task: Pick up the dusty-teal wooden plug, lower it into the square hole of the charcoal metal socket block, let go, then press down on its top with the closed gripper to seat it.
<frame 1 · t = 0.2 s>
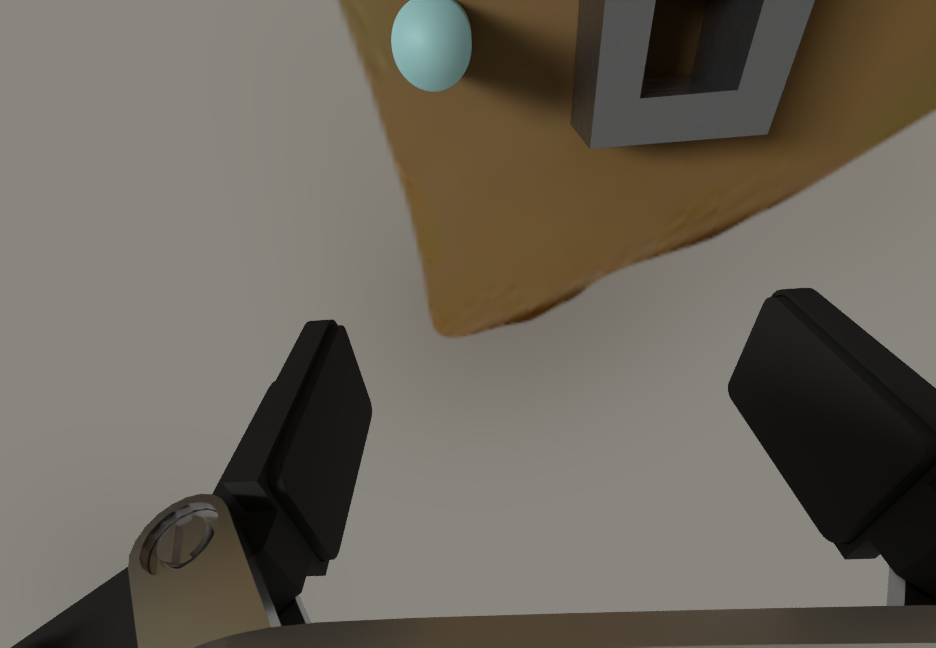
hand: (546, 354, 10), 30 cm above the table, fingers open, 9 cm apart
plug: (441, 33, 30), on the table
socket: (659, 29, 30), on the table
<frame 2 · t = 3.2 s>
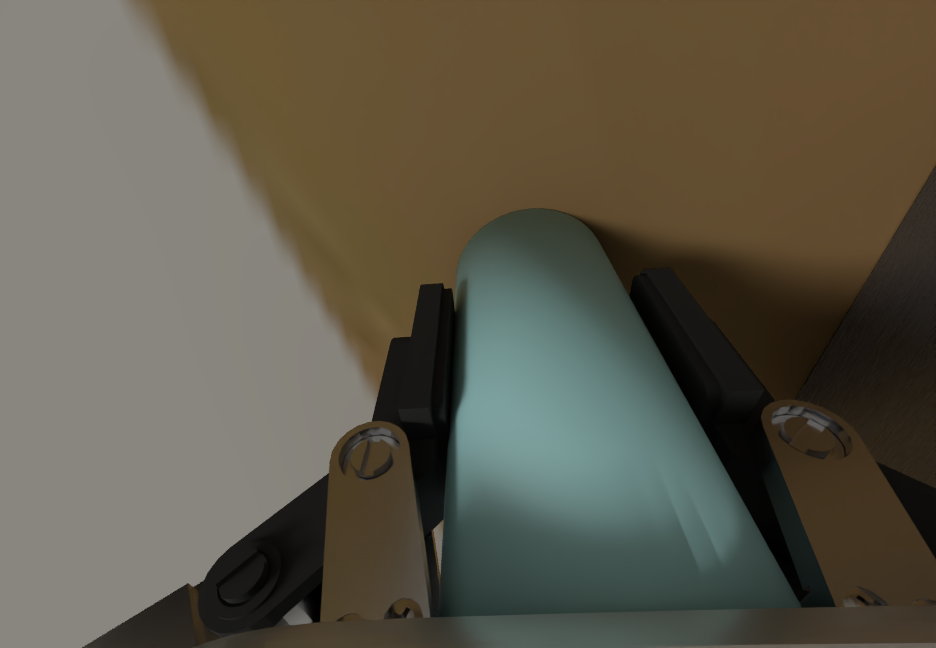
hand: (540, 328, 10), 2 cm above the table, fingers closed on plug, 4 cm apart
plug: (529, 279, 12), on the table, touching gripper
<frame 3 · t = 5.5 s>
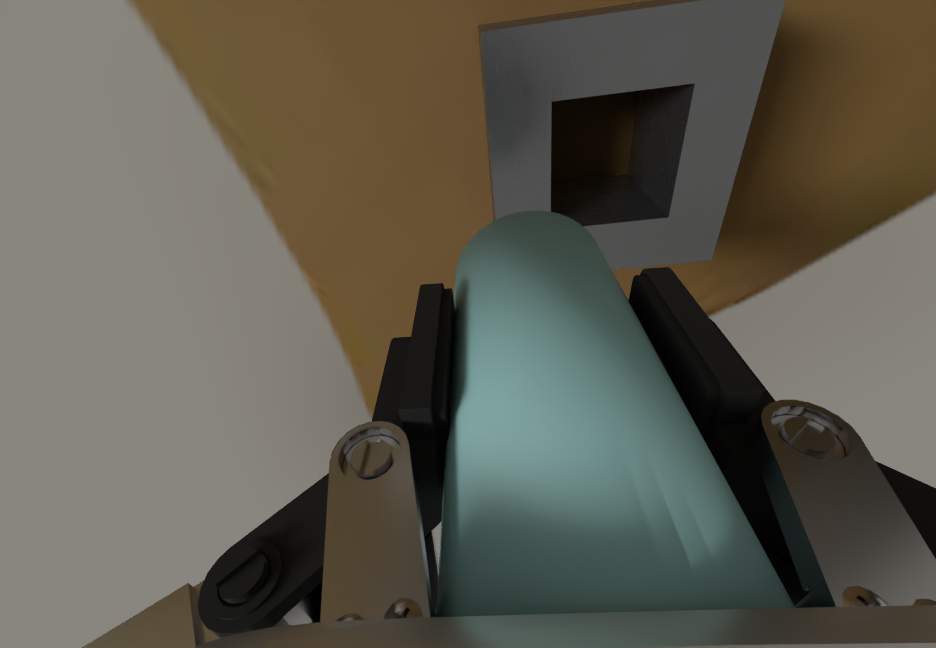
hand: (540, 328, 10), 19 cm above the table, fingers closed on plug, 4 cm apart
plug: (528, 280, 12), point 17 cm above the table, touching gripper
socket: (583, 130, 25), on the table
when the fingers open (8 cm above the table, at t = 8.3 s): plug drops 6 cm, resting in socket.
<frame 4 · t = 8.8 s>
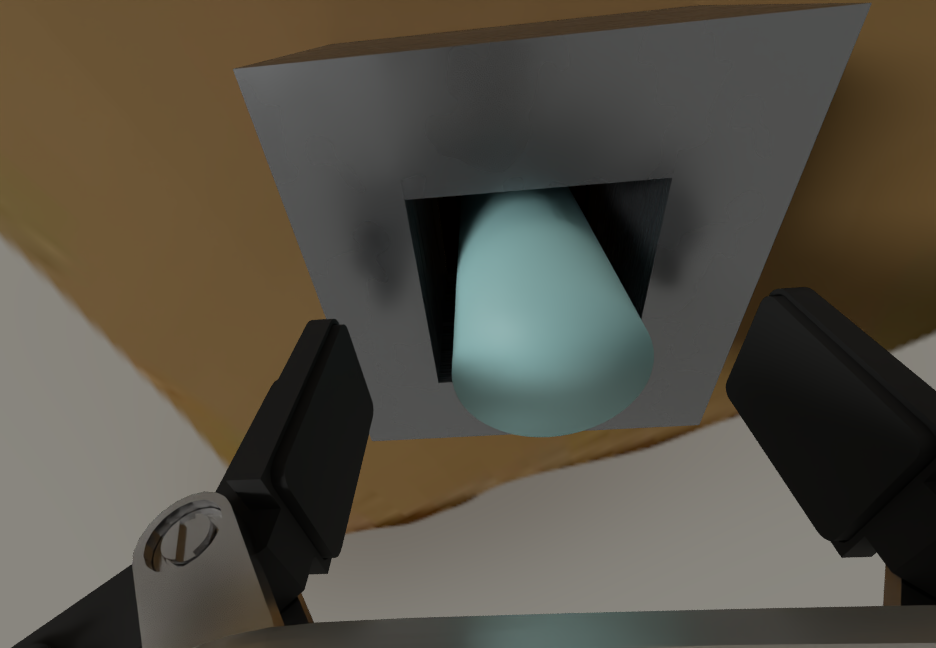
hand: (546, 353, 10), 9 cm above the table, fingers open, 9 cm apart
plug: (513, 204, 17), resting in socket
socket: (513, 203, 17), on the table
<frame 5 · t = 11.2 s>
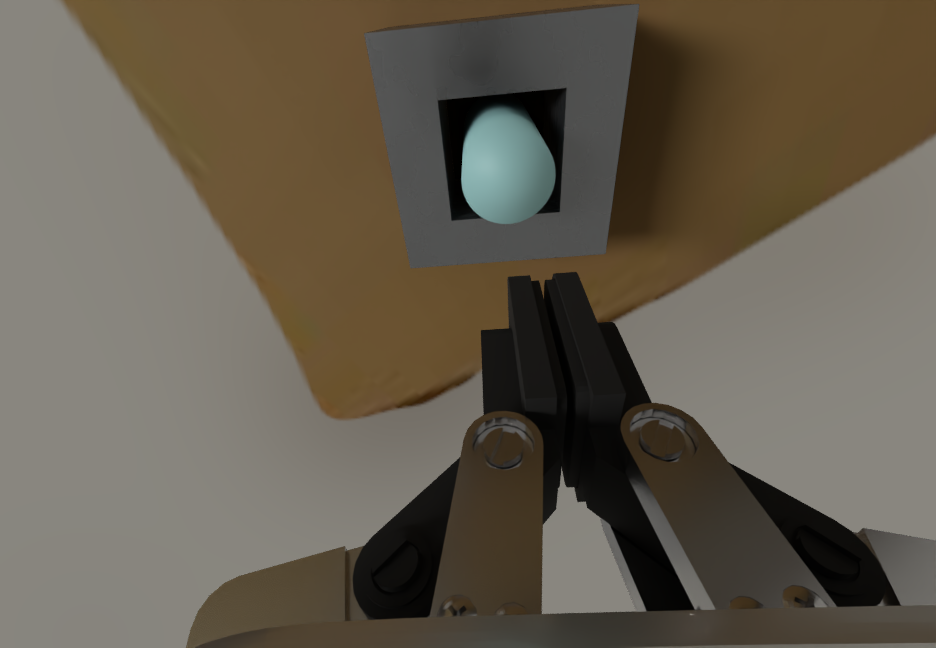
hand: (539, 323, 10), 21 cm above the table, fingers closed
plug: (496, 129, 27), resting in socket
socket: (496, 129, 27), on the table
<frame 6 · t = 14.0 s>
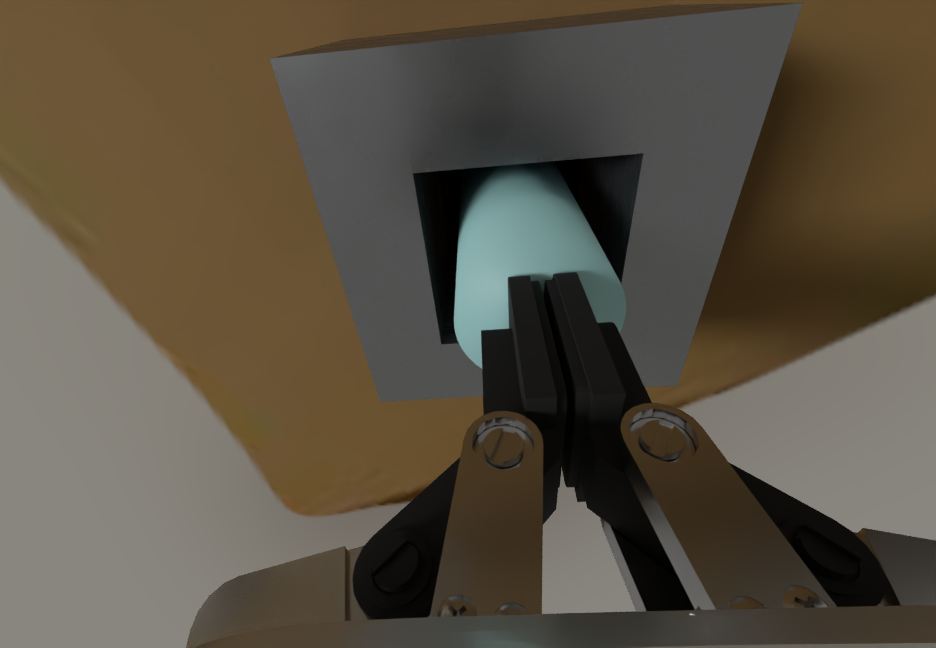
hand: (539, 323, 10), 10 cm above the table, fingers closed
plug: (509, 187, 18), resting in socket, touching gripper
socket: (509, 187, 18), on the table
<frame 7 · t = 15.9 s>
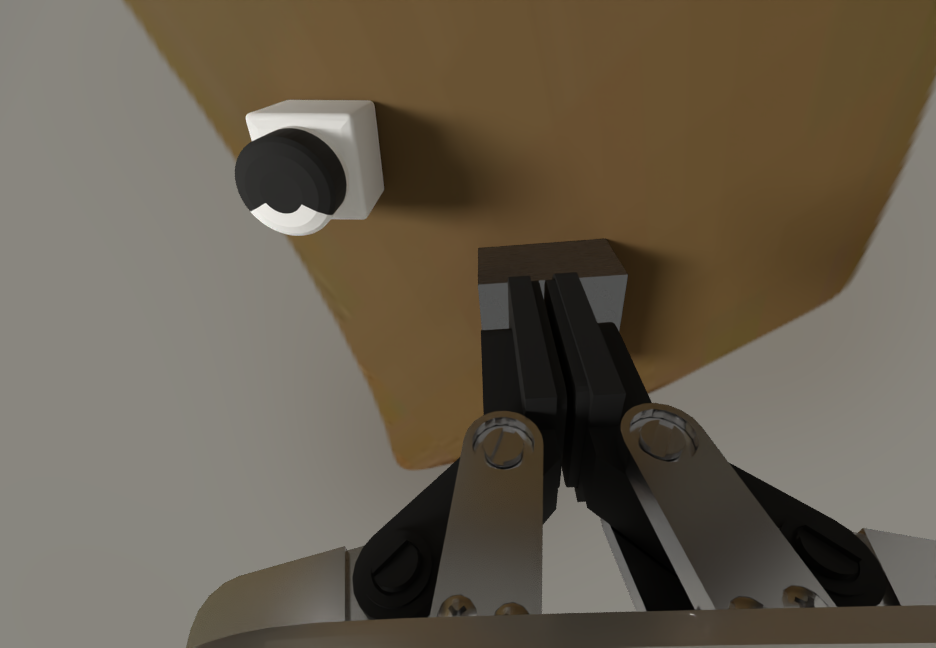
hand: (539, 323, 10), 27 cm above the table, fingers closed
socket: (540, 297, 42), on the table
medicine bottle: (338, 147, 34), on the table
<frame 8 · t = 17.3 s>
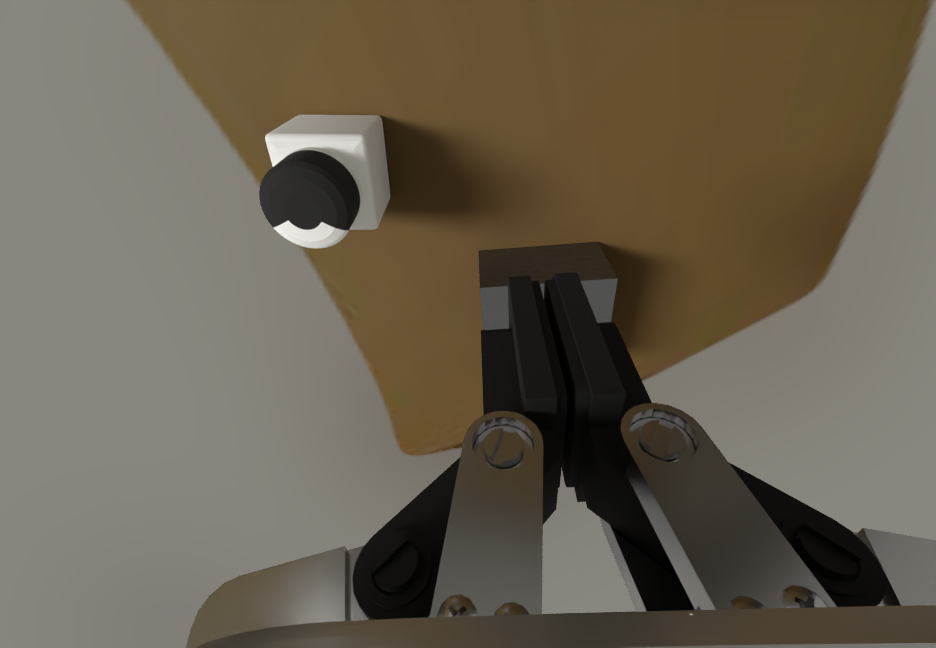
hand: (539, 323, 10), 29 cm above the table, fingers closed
socket: (536, 295, 45), on the table
medicine bottle: (347, 158, 36), on the table
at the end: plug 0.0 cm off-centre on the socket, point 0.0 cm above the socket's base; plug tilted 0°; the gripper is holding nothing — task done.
